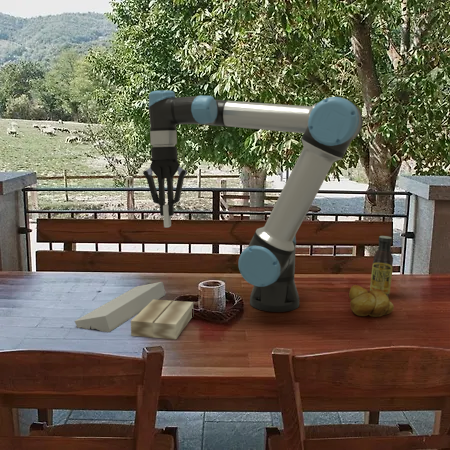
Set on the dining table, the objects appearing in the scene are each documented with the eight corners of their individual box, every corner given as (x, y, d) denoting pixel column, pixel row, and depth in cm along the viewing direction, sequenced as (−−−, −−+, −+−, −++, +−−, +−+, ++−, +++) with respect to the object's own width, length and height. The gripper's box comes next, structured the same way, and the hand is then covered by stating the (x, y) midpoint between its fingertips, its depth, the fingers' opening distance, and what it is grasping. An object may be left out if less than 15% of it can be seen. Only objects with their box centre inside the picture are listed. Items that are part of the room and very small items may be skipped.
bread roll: (390, 309, 154) (392, 284, 153) (397, 321, 145) (399, 293, 143) (346, 307, 155) (348, 282, 154) (351, 318, 146) (352, 291, 145)
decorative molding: (79, 338, 137) (110, 333, 134) (74, 321, 137) (105, 315, 133) (139, 300, 169) (166, 295, 166) (136, 286, 169) (162, 281, 165)
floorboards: (193, 315, 147) (193, 301, 146) (176, 339, 130) (175, 323, 129) (153, 312, 149) (153, 298, 148) (131, 335, 132) (130, 319, 131)
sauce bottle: (368, 298, 164) (372, 237, 161) (370, 292, 170) (374, 234, 167) (389, 300, 162) (393, 239, 159) (391, 295, 168) (395, 235, 164)
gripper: (188, 145, 150) (191, 224, 154) (146, 146, 152) (149, 224, 156) (183, 145, 143) (186, 228, 146) (138, 146, 145) (142, 228, 148)
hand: (167, 226), depth 151 cm, fingers closed
